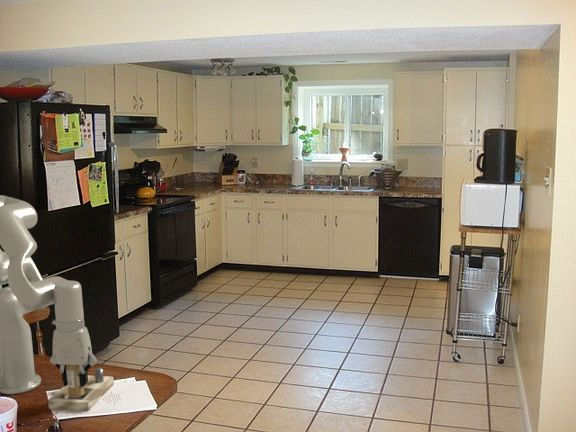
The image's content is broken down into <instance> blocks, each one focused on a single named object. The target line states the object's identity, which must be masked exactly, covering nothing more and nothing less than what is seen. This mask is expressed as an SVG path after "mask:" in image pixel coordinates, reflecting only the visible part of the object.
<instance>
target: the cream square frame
mask: <svg viewBox="0 0 576 432" xmlns="http://www.w3.org/2000/svg"><path fill="white" fill-rule="evenodd" d="M113 386H114V376H109V375H106V376H105V375H104V368H103V367H102V366H98V367H95V368H94V375H89V374H88V382H87V384H86V385H84V391H85V394H84V395H83V396H81V397H78V398H71V397H69V390H68V385H67V386H64V385H63V386H62V387H61V388H60V389H59V390H58V391H57V392H56V393H54V395H52V396H51V397H50V398H49V399H48V400H47V403H48V409H49V410H50V409H52V410H70V411H82V412H83V411H84V412H85V411H86V412H89V411H90V410H91V408H92V409H93V407H94V406H95V405H96V404H97V402H99V400H100V399H102V398H103V396H104V395H105V394H106V393H107V392H108V391H109V390H110V389H111V388H112V387H113Z"/></svg>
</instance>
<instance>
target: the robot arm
mask: <svg viewBox="0 0 576 432" xmlns="http://www.w3.org/2000/svg"><path fill="white" fill-rule="evenodd" d="M37 223H38V213H37V211H36V209H35V208H34V206H32V205H31V204H30V203H28V202H26V201H24V200H21V199H19V198H18V199H17V198H15V197H11V196H10V197H9V196H7V195H2V194H1V195H0V247H1V248H2V249H1V248H0V286H3V285H6V284H8V286H5V287H2V288H0V393H1V394H4V395H16V394H22V393H26V392H30V391H31V390H34V389H35V388H37V387H39V386H40V384H41V383H42V378H41V376H40V375H39V374H37V373H36V370H35V361H34V359H35V358H34V351H33V350H34V347H33V339H32V337H33V336H32V331H31V327H30V324H29V323H28V322H27V321H26V320H25V318H24V315H26V314H28V313H31V312H33V311H37V310H39V309H43V308H45V307H49V306H51V305H54V314H55V315H54V316H55V319H53V320H52V322H51V324H52V325H53V326H54V325H55V328H56V329H54V330H53V336H52V356H51V357H50V359H49V362H50V363H51V364H52V365H54V366H55V367H56V369H58V370H59V373H60V374H61V379H62V380H61V381H62V382H63V387H64V386H67V385H68V383H67V373H66V365H79V368H80V371H81V373H80V374H79V378H80V386H81V387H83V386H84V385H86V384H87V382H88V375H89V373H88V371H89V369H91V368H92V367H94V366H95V365H96V364H97V363H98V361H99V360H98V359H97V358H96V356H95V355H94V354H93V351H92V344H91V337H90V333H89V331H88V327H86V326H85V316H84V314H85V313H84V306H83V305H84V303H83V292H82V290H83V289H82V285H81V283H80V282H79V281H76V280H68V279H65V278H63V277H61V276H58V275H57V276H52V277H51V276H50V277H48V278H43V277H42V275H41V273H40V271H39V269H38V268H37V266H36V264H35V262H34V260H33V259H32V257H31V256H32V255H34V253H35V252H36V250H37V248H38V245H37V244H38V243H37V242H36V241H35V239H34V237H33V236H32V234H31V233H30V231H29V230H28V229H32V228H34V227H35V226H36V224H37ZM88 361H89V363H88Z"/></svg>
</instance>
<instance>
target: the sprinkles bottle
mask: <svg viewBox="0 0 576 432" xmlns="http://www.w3.org/2000/svg"><path fill="white" fill-rule="evenodd" d="M66 373H67V383H68V390H69V397H71V398H78V397H81V396H83V395H84V394H85V391H84V386H83V387H81V386H80V378H79V374H80V373H81V371H80V368H79V365H66Z"/></svg>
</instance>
